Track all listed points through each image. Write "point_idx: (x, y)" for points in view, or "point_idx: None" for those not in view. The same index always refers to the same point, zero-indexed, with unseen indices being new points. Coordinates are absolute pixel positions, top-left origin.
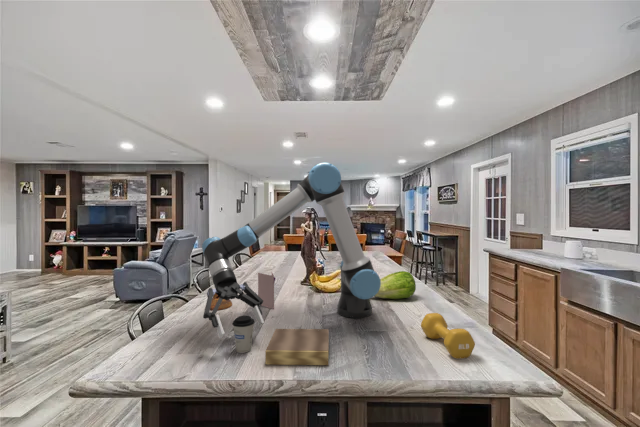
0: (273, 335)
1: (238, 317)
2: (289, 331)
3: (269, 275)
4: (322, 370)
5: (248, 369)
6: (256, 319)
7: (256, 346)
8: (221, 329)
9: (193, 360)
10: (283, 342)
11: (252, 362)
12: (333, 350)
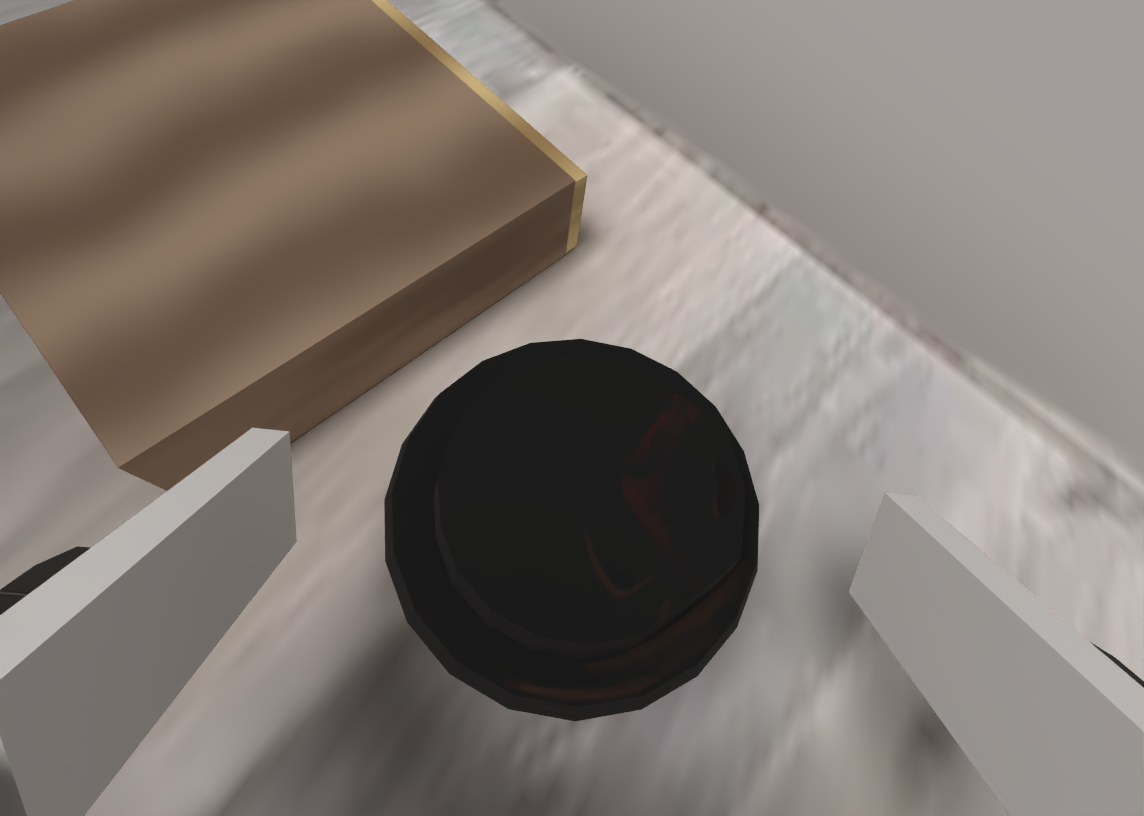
0: (308, 337)
1: (639, 598)
2: (112, 293)
3: None
4: None
5: (689, 280)
6: (226, 623)
7: None
8: (948, 530)
9: None
10: (379, 172)
11: (621, 330)
12: None
